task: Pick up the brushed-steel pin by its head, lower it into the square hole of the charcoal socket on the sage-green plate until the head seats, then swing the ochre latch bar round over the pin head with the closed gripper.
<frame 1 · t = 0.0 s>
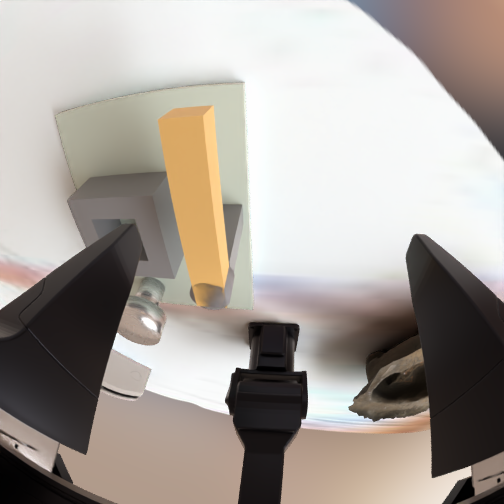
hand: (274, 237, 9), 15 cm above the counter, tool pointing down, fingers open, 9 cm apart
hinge: (114, 350, 49), on the counter
pin: (153, 286, 32), point 1 cm above the counter, touching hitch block
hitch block: (162, 216, 27), on the counter
latch bar: (202, 223, 16), point 9 cm above the counter, hinge at 0.0°
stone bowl: (422, 343, 38), on the counter
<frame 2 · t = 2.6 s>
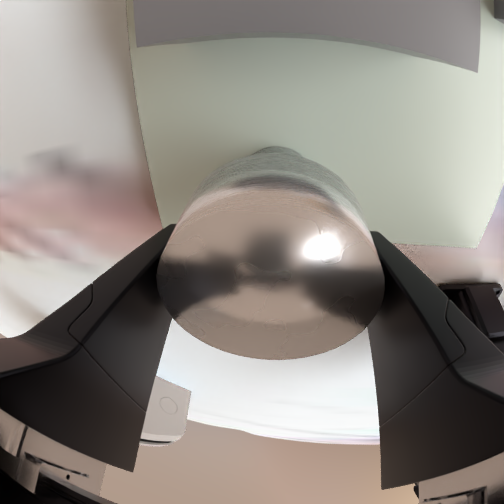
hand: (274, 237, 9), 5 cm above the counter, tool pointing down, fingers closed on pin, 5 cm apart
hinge: (127, 362, 29), on the counter
pin: (277, 180, 12), point 1 cm above the counter, touching gripper, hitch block
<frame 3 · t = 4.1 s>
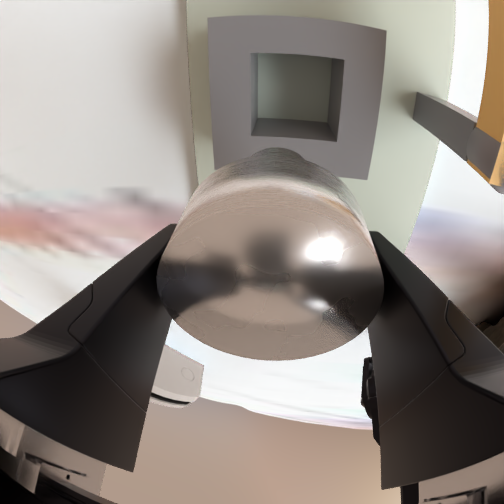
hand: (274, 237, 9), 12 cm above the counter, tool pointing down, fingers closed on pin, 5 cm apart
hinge: (155, 340, 39), on the counter
pin: (276, 181, 12), point 9 cm above the counter, touching gripper
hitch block: (323, 101, 17), on the counter
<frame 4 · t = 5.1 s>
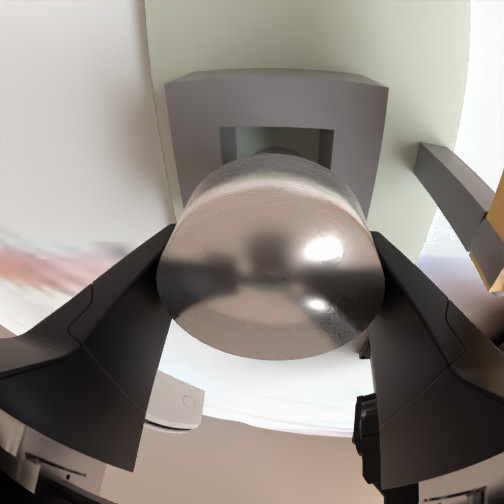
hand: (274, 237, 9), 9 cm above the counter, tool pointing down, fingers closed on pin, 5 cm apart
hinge: (156, 370, 39), on the counter
pin: (277, 180, 12), point 5 cm above the counter, touching gripper
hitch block: (312, 156, 16), on the counter
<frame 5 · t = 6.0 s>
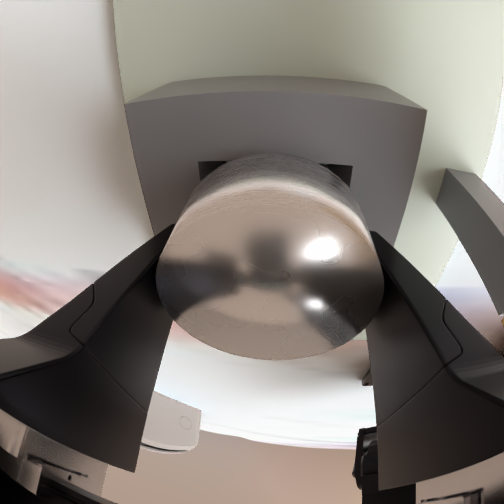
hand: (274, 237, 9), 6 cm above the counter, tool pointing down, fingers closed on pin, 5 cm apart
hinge: (151, 390, 36), on the counter
pin: (276, 180, 12), point 2 cm above the counter, touching gripper
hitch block: (319, 183, 13), on the counter
when the fingers open (6 cm above the counter, at t = 6.2 s): pin stays where it is, resting on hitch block.
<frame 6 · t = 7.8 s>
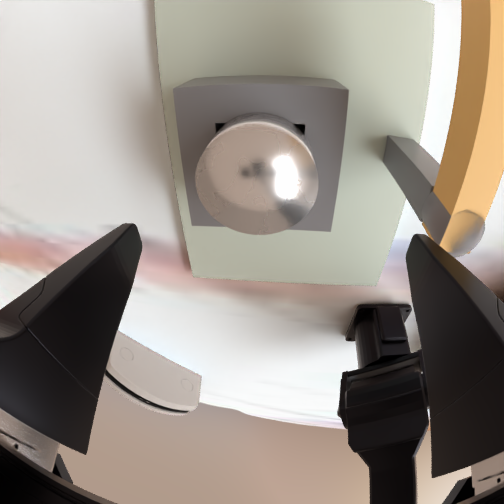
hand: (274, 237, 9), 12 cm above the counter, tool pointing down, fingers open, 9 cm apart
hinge: (156, 354, 41), on the counter
pin: (264, 139, 17), point 1 cm above the counter, touching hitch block
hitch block: (294, 148, 19), on the counter
latch bar: (483, 120, 7), point 9 cm above the counter, hinge at 0.0°
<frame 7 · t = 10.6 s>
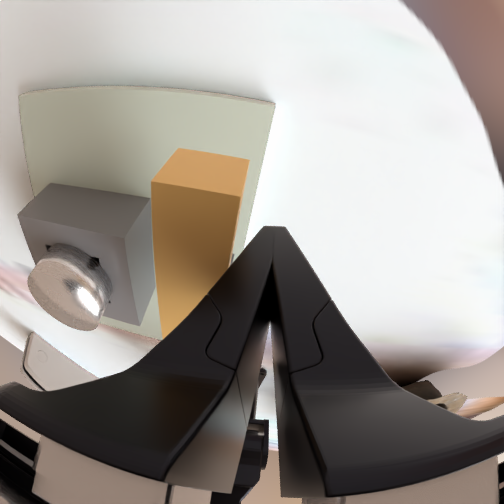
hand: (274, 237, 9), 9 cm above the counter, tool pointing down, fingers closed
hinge: (68, 357, 42), on the counter
pin: (101, 238, 20), point 1 cm above the counter, touching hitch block
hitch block: (131, 243, 21), on the counter
latch bar: (193, 317, 11), point 9 cm above the counter, hinge at 0.3°, touching gripper
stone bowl: (386, 393, 38), on the counter
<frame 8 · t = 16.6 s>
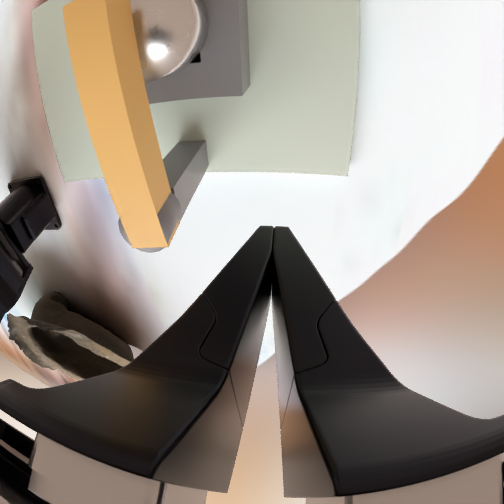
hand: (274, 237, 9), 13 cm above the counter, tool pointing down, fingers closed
pin: (180, 31, 14), point 1 cm above the counter, touching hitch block
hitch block: (174, 59, 16), on the counter
latch bar: (121, 124, 10), point 9 cm above the counter, hinge at 94.4°
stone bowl: (92, 327, 41), on the counter
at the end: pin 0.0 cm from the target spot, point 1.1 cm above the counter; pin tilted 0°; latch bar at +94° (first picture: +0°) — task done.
